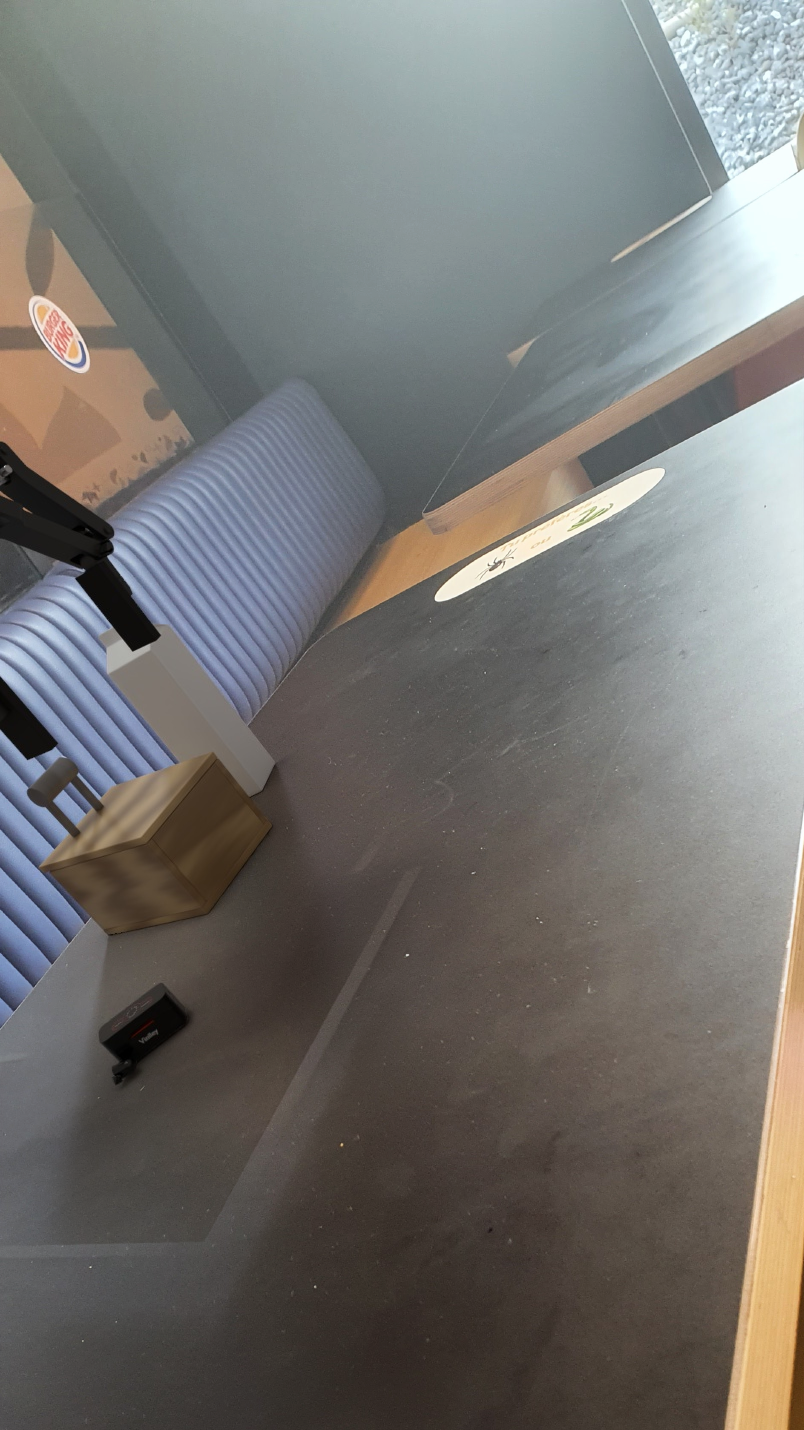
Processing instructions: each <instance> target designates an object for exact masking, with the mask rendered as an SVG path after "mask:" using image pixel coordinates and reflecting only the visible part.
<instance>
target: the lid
mask: <svg viewBox="0 0 804 1430" xmlns="http://www.w3.org/2000/svg"><path fill="white" fill-rule="evenodd" d="M217 758H218V757H217V756H216V755H215V753H214V752H210V753H207V754H204V755H201V756H199V757H196V758H193V759H190V760H187V761H184V762H181V763H180V762H177V763H175V764H173V765H169V766H167V767H165V768H161V769H158V770H156V771H152V772H149V773H147V774H144V775H141V776H138V777H135V778H133V779H129V780H127V781H124V782H121V783H118V784H115V785H112V786H110V787H109V788H108V789H107V790H106V792H105V793H104V794H103V795H102V796H101V797H100V798H98V797H97V796H96V795H95V794H94V793H93V791H91V789H90V788H89V787H88V786H87V785H86V784H85V782H84V781H82V779H81V778H80V777H79V776H78V775H79V768H78V766H77V764H76V763H75V762H74V761H73V760H72V759H70V758H68V757H66V756H59V757H58V758H57V759H56V760H54V761H53V763H52V764H51V765H49V766H48V768H47V769H46V770H45V771H44V772H43V773H41V775H40V776H39V777H38V778H37V779H36V780H35V781H34V782H33V783H32V784H31V785H30V786H29V787H28V788H27V789H26V796H27V797H28V799H29V800H30V801H31V802H32V803H33V804H34V805H35V806H38V807H40V808H45V809H46V810H47V811H48V812H49V813H50V814H51V815H52V816H53V817H54V819H55V820H57V822H58V823H59V824H60V825H61V826H62V828H63V829H65V830H66V832H67V833H68V834H67V835H66V836H65V837H64V838H63V840H61V842H60V843H59V844H58V845H57V846H56V847H55V848H54V849H53V850H52V851H51V852H50V853H49V855H48V856H46V858H45V859H44V860H43V861H42V862H41V864H39V866H38V869H39V870H40V871H41V872H42V873H43V874H45V873H49V872H50V871H53V870H56V869H60V868H63V867H67V866H70V865H74V864H77V863H81V862H84V861H88V860H91V859H94V858H98V857H101V856H105V855H108V854H112V853H115V852H119V851H122V850H126V849H129V848H133V847H136V846H140V845H143V844H146V843H147V842H148V841H149V840H150V839H151V837H152V836H153V835H154V834H155V833H156V831H157V830H158V829H159V828H160V827H161V825H162V824H163V823H164V822H165V821H166V819H167V818H168V817H169V816H170V814H171V813H172V812H173V811H174V810H175V808H176V807H177V806H178V805H179V804H180V802H181V801H182V800H183V799H184V798H185V796H186V795H187V794H188V793H189V792H190V790H191V789H192V788H193V787H194V786H195V784H196V783H197V782H198V781H199V780H200V778H201V777H202V776H203V775H204V774H205V772H206V771H207V770H208V769H209V768H210V766H211V765H212V764H213V763H214V762H215V760H216V759H217ZM70 784H71V785H72V786H73V787H74V788H75V789H76V790H77V792H78V793H79V794H80V795H81V796H82V797H83V798H84V799H85V801H86V802H87V803H88V804H89V806H91V808H90V809H89V810H88V811H87V813H86V814H85V815H84V816H83V817H82V819H81V820H79V821H78V823H77V824H76V825H75V824H74V822H72V820H71V819H70V818H69V817H68V816H67V815H66V814H65V813H64V811H62V810H61V808H60V807H59V806H58V805H57V804H56V803H55V802H54V801H55V799H56V798H57V797H59V795H60V794H61V793H62V792H63V791H64V790H65V789H66V787H68V785H70Z"/></svg>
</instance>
